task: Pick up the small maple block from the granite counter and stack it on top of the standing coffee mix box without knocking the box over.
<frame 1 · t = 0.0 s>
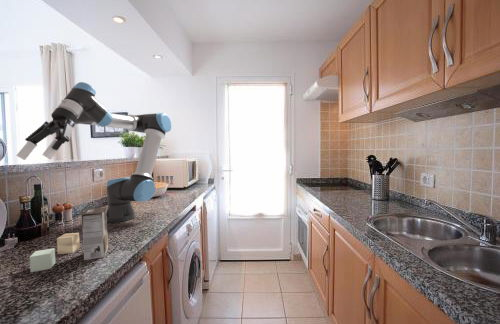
hand: (33, 157, 84), 36 cm above the counter, tool tilted 35°, fingers open, 13 cm apart
coffee box: (96, 254, 87), on the counter
maple block: (69, 250, 91), on the counter
sage block: (43, 267, 78), on the counter
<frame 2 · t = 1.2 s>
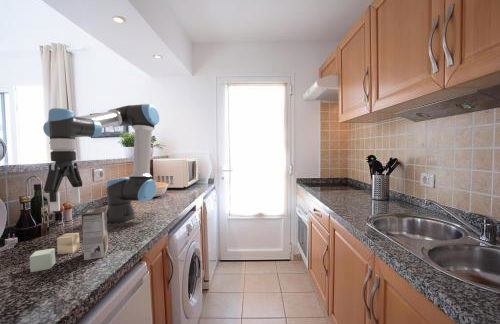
hand: (66, 206, 90), 17 cm above the counter, tool pointing down, fingers open, 13 cm apart
nothing on the counter moved.
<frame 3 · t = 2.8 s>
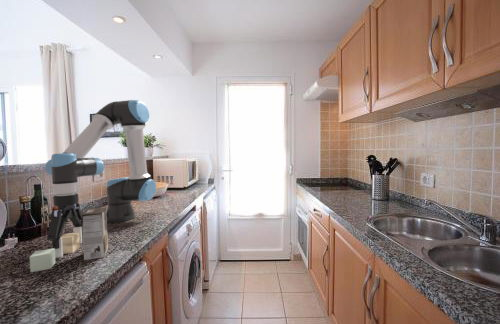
hand: (68, 249, 91), 0 cm above the counter, tool pointing down, fingers open, 13 cm apart
nothing on the counter moved.
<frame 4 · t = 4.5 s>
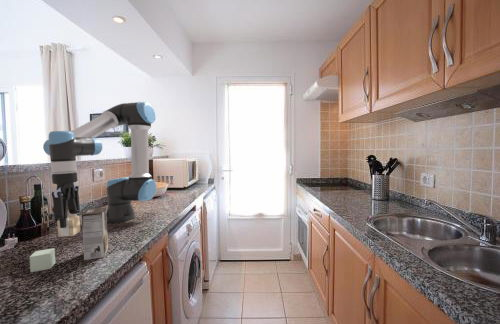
hand: (69, 232, 91), 7 cm above the counter, tool pointing down, fingers closed on maple block, 5 cm apart
maple block: (69, 233, 91), point 6 cm above the counter, touching gripper
everything else where it was.
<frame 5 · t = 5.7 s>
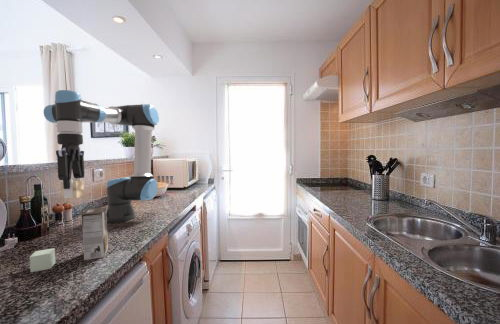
hand: (73, 196, 88), 21 cm above the counter, tool pointing down, fingers closed on maple block, 5 cm apart
maple block: (73, 197, 88), point 21 cm above the counter, touching gripper
everything else where it was.
when the fingers open (16 cm above the counter, at t = 7.3 s): maple block stays where it is, resting on coffee box.
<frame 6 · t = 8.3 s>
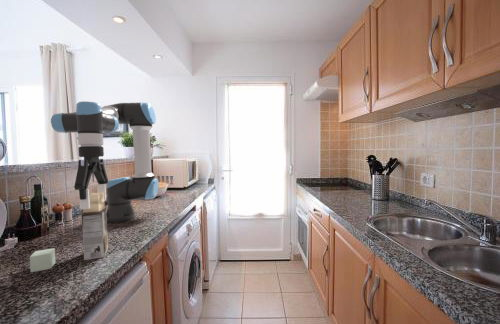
hand: (94, 204, 86), 18 cm above the counter, tool pointing down, fingers open, 13 cm apart
coffee box: (96, 254, 87), on the counter, touching maple block
maple block: (94, 210, 86), point 16 cm above the counter, touching coffee box
everything else where it was.
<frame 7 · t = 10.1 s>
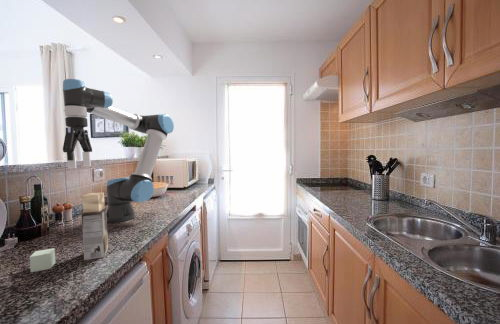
hand: (80, 167, 102), 31 cm above the counter, tool pointing down, fingers open, 13 cm apart
nothing on the counter moved.
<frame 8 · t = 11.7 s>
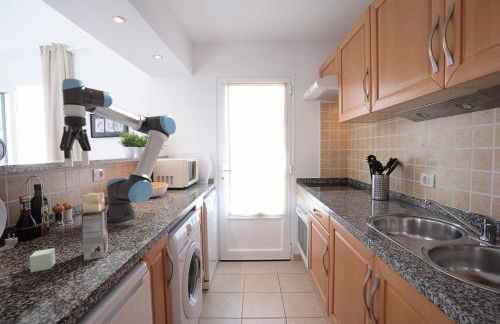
hand: (77, 166, 103), 32 cm above the counter, tool pointing down, fingers open, 13 cm apart
nothing on the counter moved.
at the end: maple block inside the target area on the coffee box (0.1 cm from its centre), point 16.3 cm above the coffee box's base; coffee box tilted 0°; maple block tilted 0° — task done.
